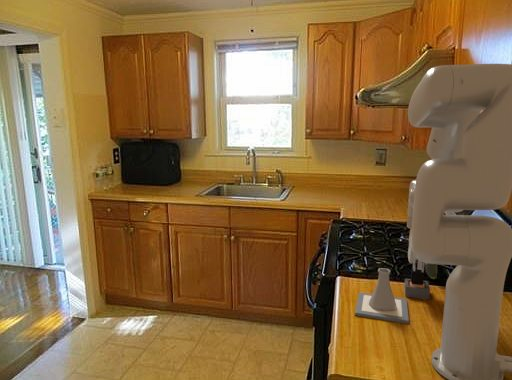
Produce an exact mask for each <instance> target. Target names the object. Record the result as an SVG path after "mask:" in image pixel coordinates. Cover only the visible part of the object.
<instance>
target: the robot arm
mask: <svg viewBox="0 0 512 380" xmlns="http://www.w3.org/2000/svg"><path fill="white" fill-rule="evenodd" d="M407 120H408V122H409V124H410V125H411V126H412V127H414V128H421V129H423V128H431V130H430V135H429V138H428V142H427V145H426V153H427V155H428V157H429V158H430V159H429V160H427V161H424V163H423V164H422V165H420V168H419V170H418V172H417V174H416V178H415V179H414V180H413V179H412V180H411V181H410V183H409V191H408V204H407V205H408V206H407V218H406V219H407V220H406V227H407V228H408V229H410V230H409V237H408V250H407V258H408V262H409V263H410V264H412V269H411V273H410V279H411V283H412V284H418V285H423V281H425V279H424V277H425V271H424V270H425V265H427V264H428V263H429V264H437V265H442V266H443V265H448V266H449V265H450V266H456V267H455V268H454V269H453V270H452V272H450V274H449V276H448V278H447V279H446V284H445V292H444V294H445V295H444V303H443V304H444V306H443V316H442V329H441V341H440V347H438V348H436V349H435V350H434V351H432V354H431V364H432V366H433V368H434V369H435V371H437V372H438V373H439V374H440V376H442V377H443V378H445V379H447V380H504V374H505V373H506V372H508V373H512V356H509V355H508V356H507V355H500V354H499V353H498V352H497V347H498V338H499V328H500V319H501V311H502V303H503V302H502V301H503V293H504V286H505V281H506V276H507V272H508V268H509V265H510V263H511V259H512V227H511V226H510V225H509V223H507V222H506V221H504V220H502V219H500V218H497V217H494V216H489V215H470V214H469V215H468V214H467V215H466V214H445V213H460V212H463V211H493V210H494V211H495V210H499V209H502V208H503V207H505V206H506V205H507V204H508V202H509V200H510V197H511V193H512V64H510V63H476V64H475V63H474V64H445V65H437V66H433V67H431V68H430V69H429V70H427V72H426V73H424V75H423V77H422V79H421V80H420V82H419V83H418V85H416V87H415V89H414V91H413V93H412V95H411V98H410V101H409V103H408V109H407Z"/></svg>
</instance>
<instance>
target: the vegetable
mask: <svg viewBox="0 0 512 380" xmlns="http://www.w3.org/2000/svg"><path fill="white" fill-rule="evenodd" d="M424 269H425V272H426V274H427V276H428V277H429V278H430V279H432V280H436V279H437V274H438V264H429V263H428V264H427V265H425V264H424Z"/></svg>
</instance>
